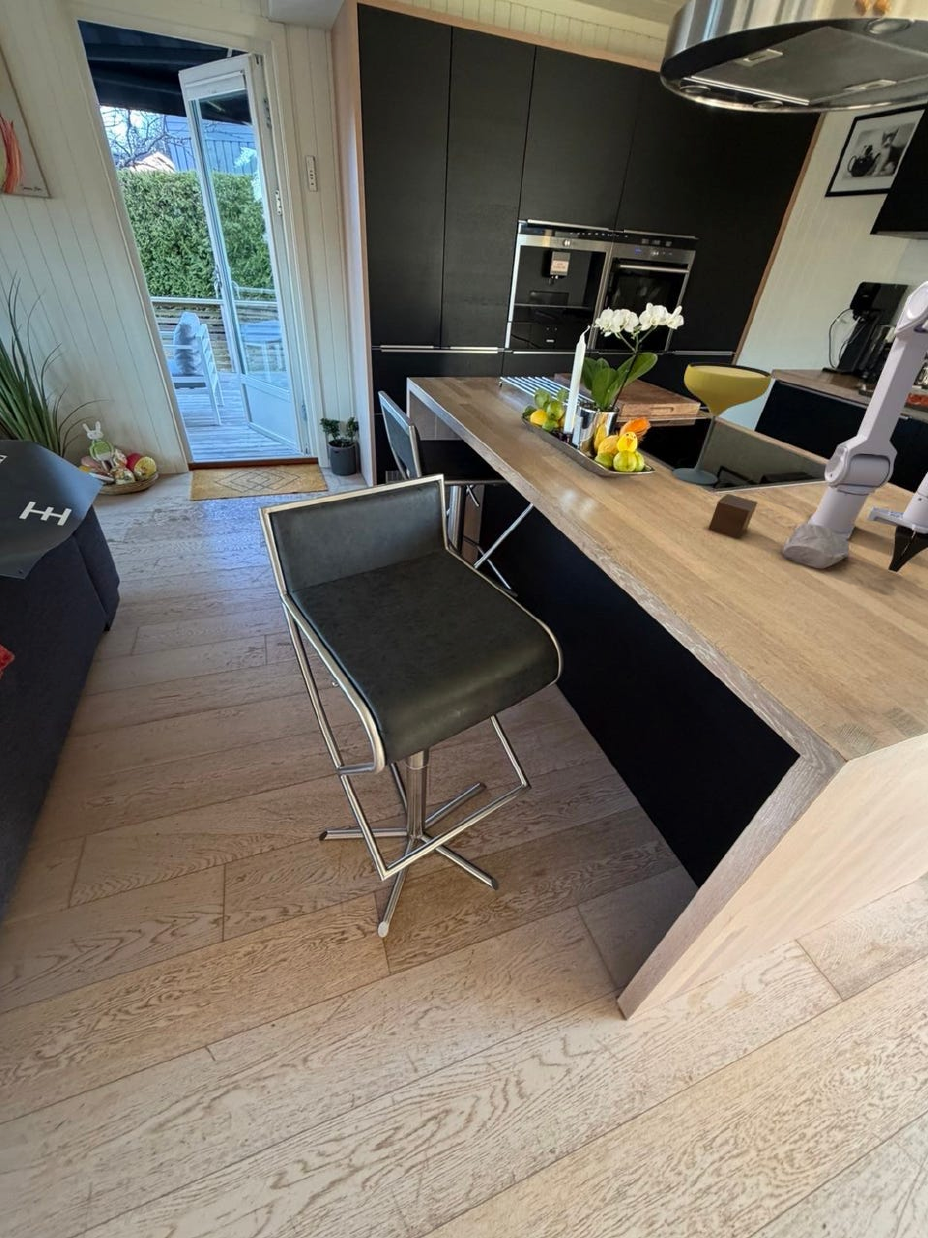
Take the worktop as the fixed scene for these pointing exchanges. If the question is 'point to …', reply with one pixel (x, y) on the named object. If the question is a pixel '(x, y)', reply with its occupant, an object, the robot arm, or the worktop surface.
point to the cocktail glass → (720, 399)
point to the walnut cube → (732, 515)
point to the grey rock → (815, 546)
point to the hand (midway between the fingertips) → (893, 569)
